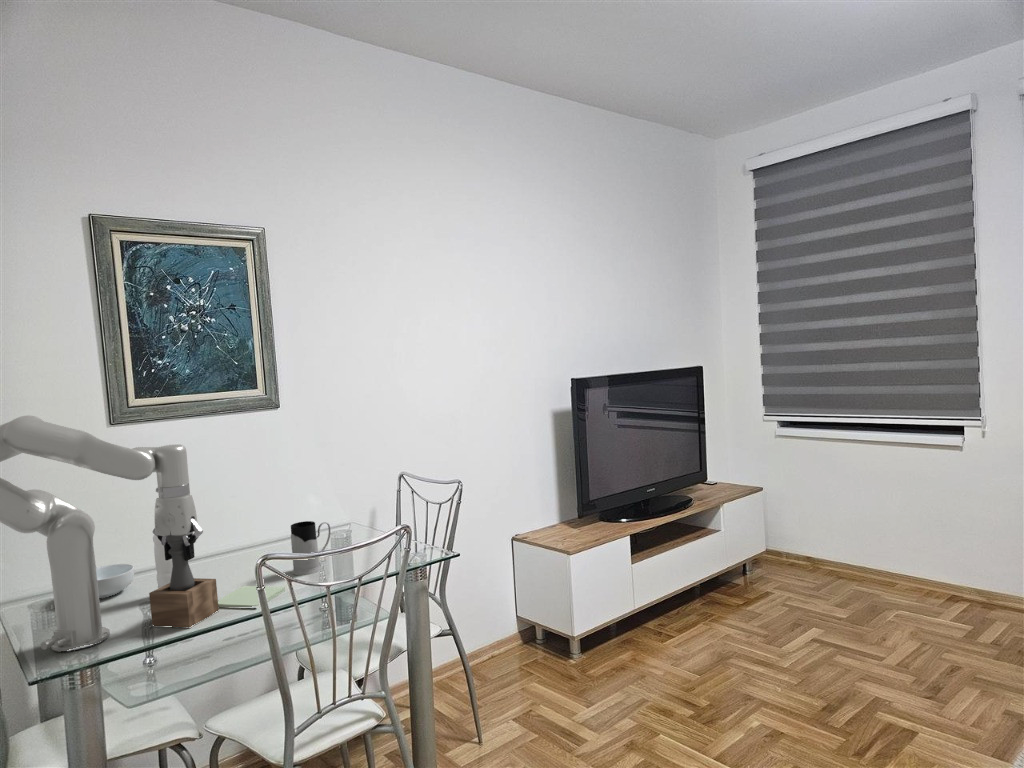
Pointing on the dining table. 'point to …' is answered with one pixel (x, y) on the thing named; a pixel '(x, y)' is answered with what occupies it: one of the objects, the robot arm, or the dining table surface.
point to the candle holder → (179, 565)
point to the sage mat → (248, 596)
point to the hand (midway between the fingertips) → (179, 558)
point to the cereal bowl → (113, 578)
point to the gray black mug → (306, 546)
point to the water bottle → (162, 564)
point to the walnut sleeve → (184, 604)
